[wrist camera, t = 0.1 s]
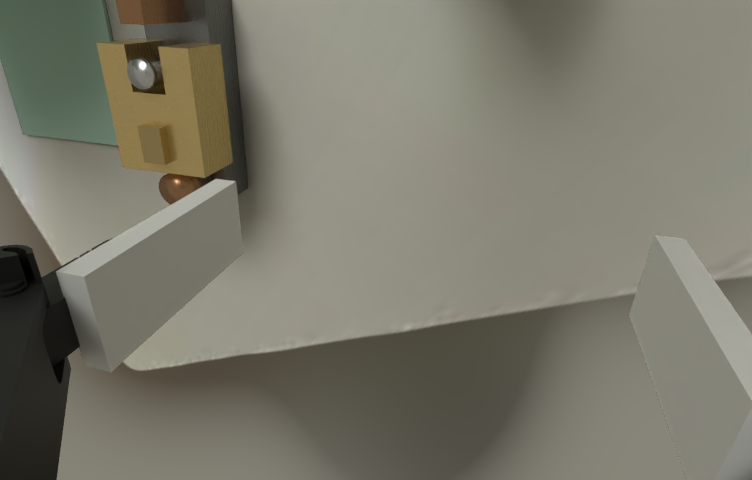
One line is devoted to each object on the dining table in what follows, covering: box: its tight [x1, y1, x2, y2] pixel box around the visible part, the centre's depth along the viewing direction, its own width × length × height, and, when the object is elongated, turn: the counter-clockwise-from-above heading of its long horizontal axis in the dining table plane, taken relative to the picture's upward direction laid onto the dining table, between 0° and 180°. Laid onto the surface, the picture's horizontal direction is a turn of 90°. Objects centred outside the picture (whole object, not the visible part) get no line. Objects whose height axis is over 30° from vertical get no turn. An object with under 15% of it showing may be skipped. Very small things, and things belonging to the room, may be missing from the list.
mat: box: [0, 0, 118, 146], centre depth 49 cm, size 14×14×1 cm
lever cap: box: [96, 39, 233, 178], centre depth 40 cm, size 10×8×5 cm
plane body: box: [116, 0, 248, 205], centre depth 42 cm, size 18×6×9 cm, turn 178°
